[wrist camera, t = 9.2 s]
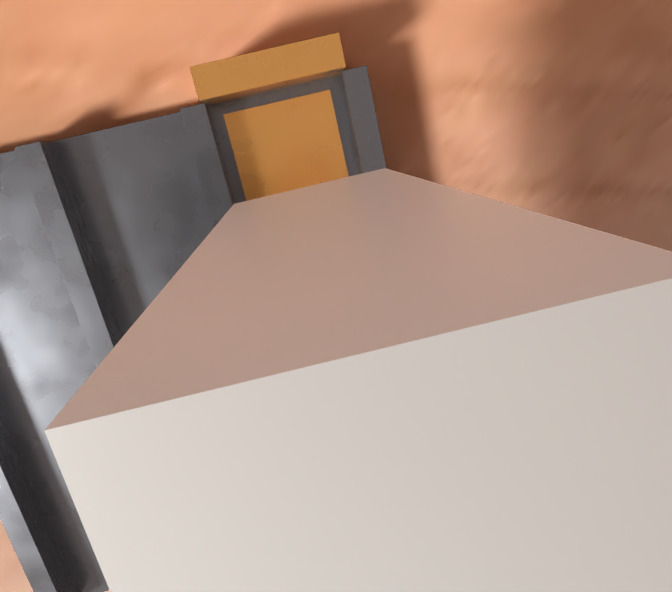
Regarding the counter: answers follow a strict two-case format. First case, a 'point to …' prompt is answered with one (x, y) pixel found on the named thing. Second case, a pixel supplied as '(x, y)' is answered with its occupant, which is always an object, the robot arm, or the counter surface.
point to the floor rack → (141, 248)
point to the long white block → (385, 404)
